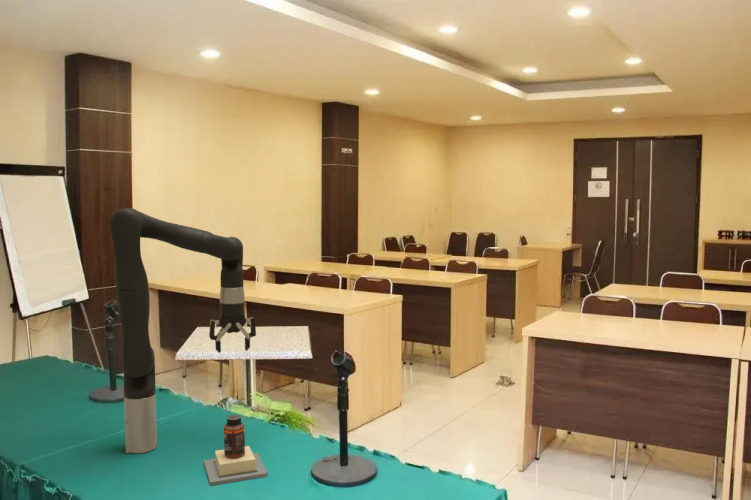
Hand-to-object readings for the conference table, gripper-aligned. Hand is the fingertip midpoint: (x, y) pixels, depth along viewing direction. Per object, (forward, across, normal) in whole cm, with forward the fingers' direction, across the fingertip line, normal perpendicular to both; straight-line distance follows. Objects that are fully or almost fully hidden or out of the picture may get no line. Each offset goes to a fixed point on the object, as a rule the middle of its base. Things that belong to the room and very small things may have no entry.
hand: (233, 351), depth 201 cm
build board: (+30, -3, -20) cm, 36 cm away
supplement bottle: (+26, -3, -20) cm, 33 cm away
